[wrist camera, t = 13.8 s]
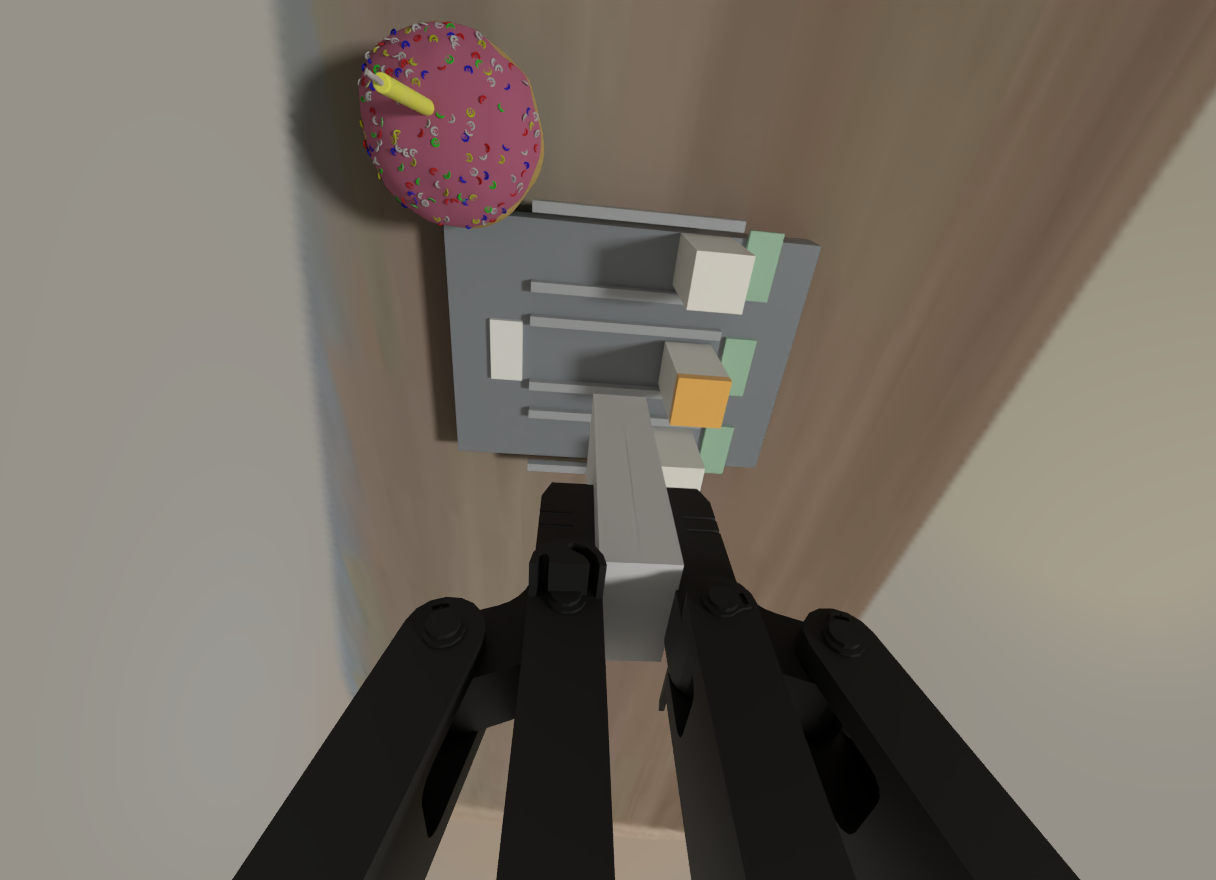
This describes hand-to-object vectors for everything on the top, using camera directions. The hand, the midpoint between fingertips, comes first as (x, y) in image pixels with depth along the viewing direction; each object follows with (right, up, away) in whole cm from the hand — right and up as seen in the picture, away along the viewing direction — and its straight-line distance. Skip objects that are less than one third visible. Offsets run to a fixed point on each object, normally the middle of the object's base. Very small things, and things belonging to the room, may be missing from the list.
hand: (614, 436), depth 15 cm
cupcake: (-8, +17, +13) cm, 23 cm away
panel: (+1, +6, +20) cm, 21 cm away
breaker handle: (+5, +5, +18) cm, 20 cm away
